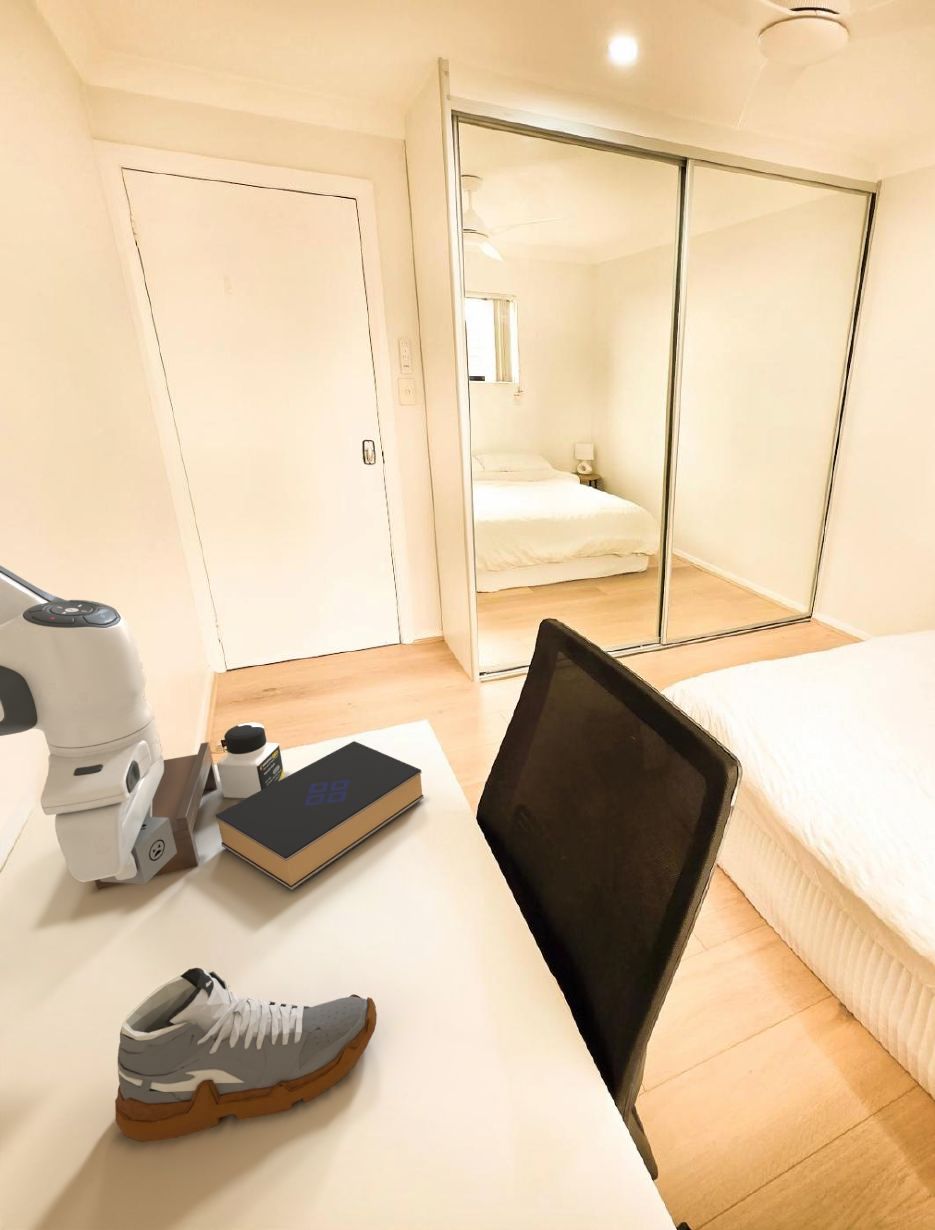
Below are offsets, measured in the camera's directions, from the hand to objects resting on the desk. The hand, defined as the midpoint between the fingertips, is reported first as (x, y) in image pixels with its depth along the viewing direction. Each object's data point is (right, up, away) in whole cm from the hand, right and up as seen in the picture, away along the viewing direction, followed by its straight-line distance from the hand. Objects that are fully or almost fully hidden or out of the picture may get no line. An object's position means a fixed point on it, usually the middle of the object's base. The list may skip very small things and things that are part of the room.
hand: (136, 854), depth 69 cm
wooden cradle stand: (-18, -8, +28) cm, 34 cm away
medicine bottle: (-10, -4, +40) cm, 41 cm away
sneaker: (+17, -21, -6) cm, 28 cm away
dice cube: (0, -2, +1) cm, 2 cm away
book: (+7, -8, +31) cm, 33 cm away
